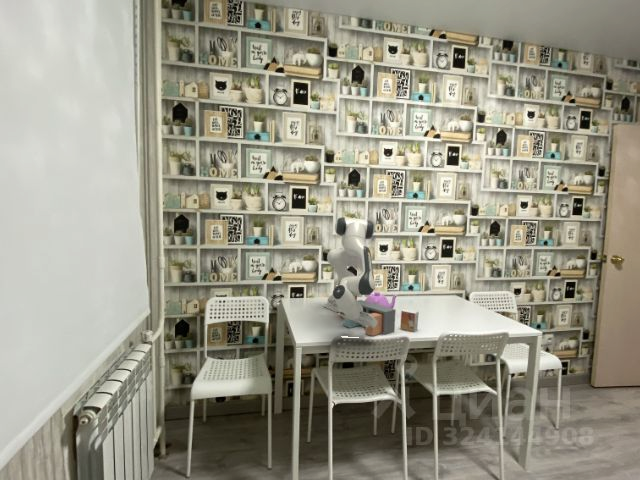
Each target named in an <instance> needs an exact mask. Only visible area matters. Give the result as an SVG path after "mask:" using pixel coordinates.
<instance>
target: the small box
mask: <svg viewBox="0 0 640 480" xmlns="http://www.w3.org/2000/svg"><path fill="white" fill-rule="evenodd" d="M419 312H420V311H419V310H418V311H417V310H413V309H412V310H411V309H406V308H404V309H402V310H401V313H400V314H401V315H400V327H399V329H400V330H402V331H406V332H410V331H411V332H410V333H415V332H416V331H418V327H419Z"/></svg>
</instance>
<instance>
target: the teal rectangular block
mask: <svg viewBox="0 0 640 480" xmlns="http://www.w3.org/2000/svg"><path fill="white" fill-rule="evenodd" d="M343 326H344V327H346V328H349V329H352V328H355V327H359V326H362V325H361V324H360V323H358V322H355V321H352V320H349V319H347V318H345V317H344V320H343Z"/></svg>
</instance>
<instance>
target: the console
mask: <svg viewBox="0 0 640 480" xmlns="http://www.w3.org/2000/svg"><path fill="white" fill-rule="evenodd" d="M357 301H358V302H359V303H360V305H361V306H362V307H363V312H366V313H369V314H371V313H375V312H379V313H382V314H384V319H383V333H382V335H388V334H391V333H395V326H396V325H395V324H396V310H397V309H395V308H393V309H392V308H388V307H385V306H381V305H377V304H374V303H370V302H367V301H365V300H364V299H363V300H362V299H359V300H357ZM365 328H366V327H364V329H365Z"/></svg>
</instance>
